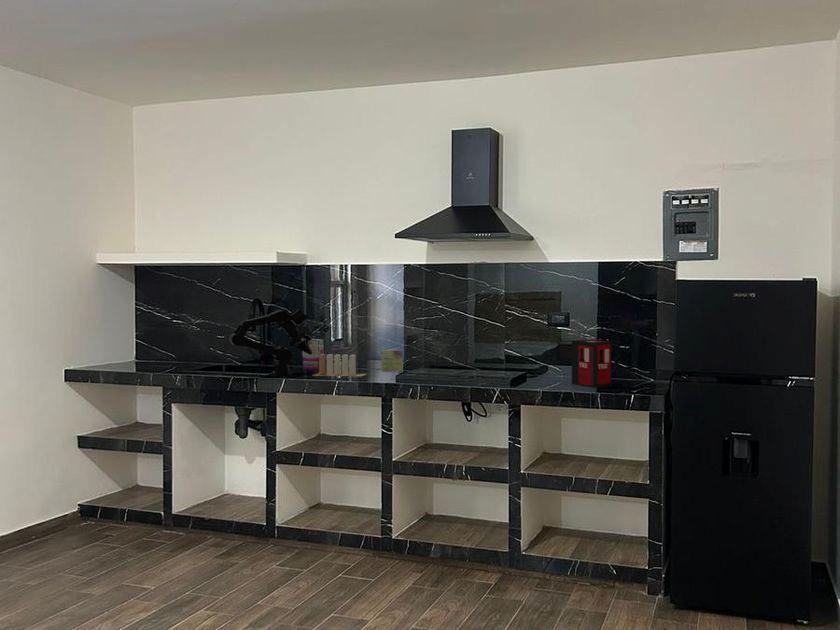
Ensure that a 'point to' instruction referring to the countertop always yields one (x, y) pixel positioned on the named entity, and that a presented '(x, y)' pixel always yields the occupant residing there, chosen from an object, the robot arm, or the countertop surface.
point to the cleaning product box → (592, 363)
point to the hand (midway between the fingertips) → (311, 354)
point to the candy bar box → (313, 354)
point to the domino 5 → (352, 365)
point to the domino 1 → (322, 364)
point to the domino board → (339, 375)
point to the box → (391, 360)
